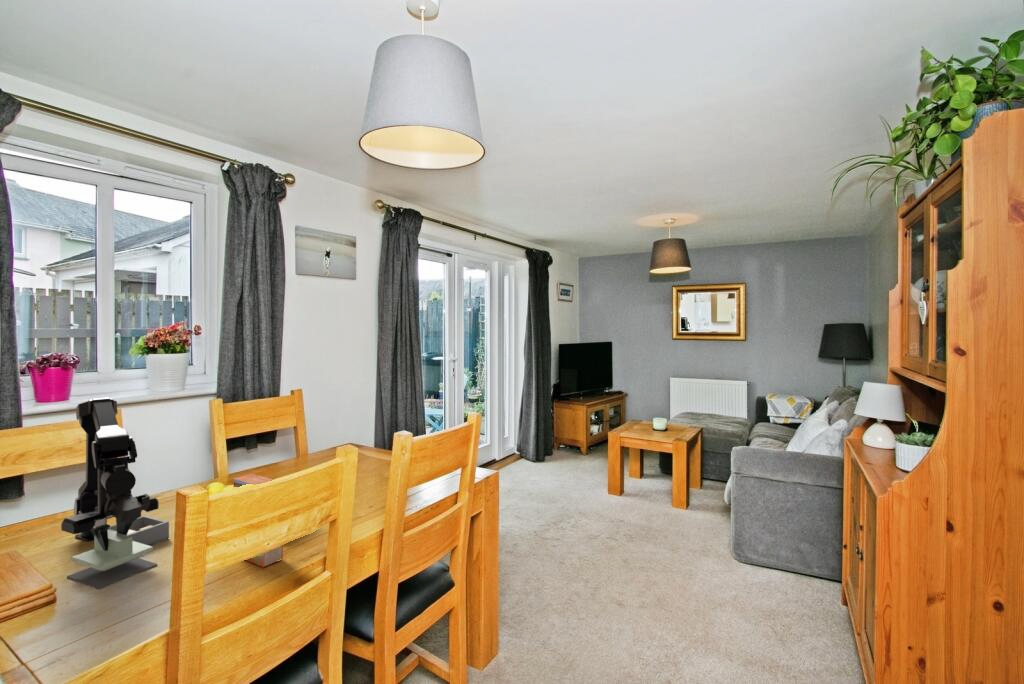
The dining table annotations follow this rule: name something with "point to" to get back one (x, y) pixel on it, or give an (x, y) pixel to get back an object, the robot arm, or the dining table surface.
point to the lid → (112, 552)
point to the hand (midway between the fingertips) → (113, 547)
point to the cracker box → (272, 554)
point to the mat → (111, 573)
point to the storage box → (147, 530)
